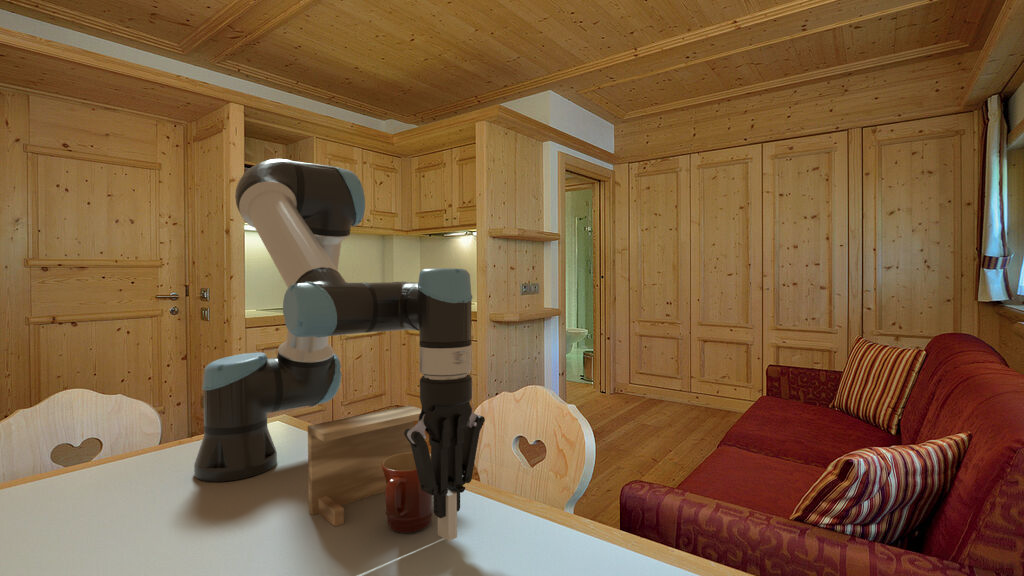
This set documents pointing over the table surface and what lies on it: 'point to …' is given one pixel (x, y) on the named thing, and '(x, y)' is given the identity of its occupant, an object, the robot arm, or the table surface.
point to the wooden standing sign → (353, 458)
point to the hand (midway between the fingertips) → (447, 535)
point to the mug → (405, 495)
